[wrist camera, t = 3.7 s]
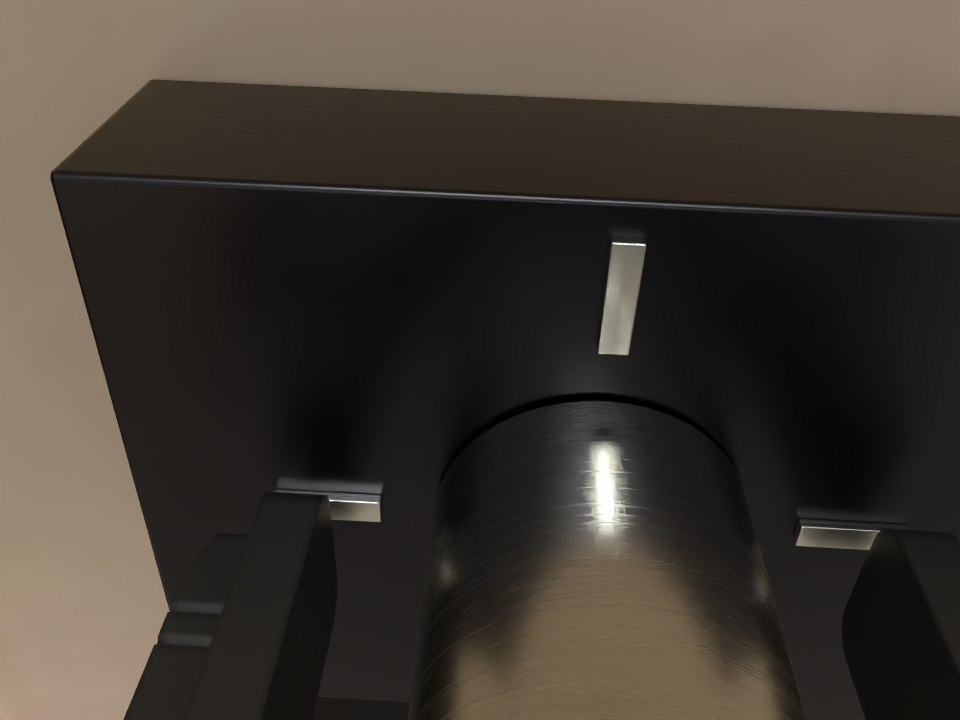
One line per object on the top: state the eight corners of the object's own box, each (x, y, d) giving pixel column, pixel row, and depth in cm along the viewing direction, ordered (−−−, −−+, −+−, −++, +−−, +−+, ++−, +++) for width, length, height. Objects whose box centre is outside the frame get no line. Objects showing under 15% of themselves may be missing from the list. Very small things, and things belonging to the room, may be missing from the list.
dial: (434, 608, 13) (384, 1061, 8) (434, 389, 10) (365, 860, 6) (713, 625, 13) (806, 1090, 8) (777, 407, 10) (952, 898, 6)
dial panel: (239, 550, 17) (186, 699, 14) (148, 77, 11) (37, 179, 9) (876, 587, 16) (939, 745, 14) (1085, 120, 11) (1250, 238, 9)
